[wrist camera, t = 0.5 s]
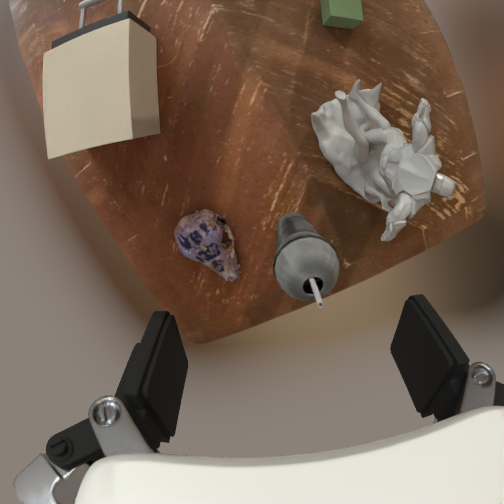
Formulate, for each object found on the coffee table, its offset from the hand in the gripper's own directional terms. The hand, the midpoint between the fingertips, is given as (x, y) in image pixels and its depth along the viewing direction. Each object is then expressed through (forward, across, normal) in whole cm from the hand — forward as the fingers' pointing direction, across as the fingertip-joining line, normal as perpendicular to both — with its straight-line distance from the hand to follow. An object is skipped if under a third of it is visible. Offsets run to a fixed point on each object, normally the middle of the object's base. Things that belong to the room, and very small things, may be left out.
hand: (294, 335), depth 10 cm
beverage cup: (+30, -4, +8) cm, 31 cm away
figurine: (+30, -14, -4) cm, 33 cm away
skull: (+30, +8, +9) cm, 32 cm away
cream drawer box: (+30, +20, -15) cm, 39 cm away
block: (+30, -11, -24) cm, 40 cm away
